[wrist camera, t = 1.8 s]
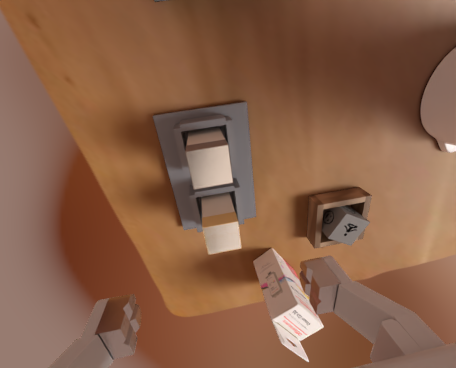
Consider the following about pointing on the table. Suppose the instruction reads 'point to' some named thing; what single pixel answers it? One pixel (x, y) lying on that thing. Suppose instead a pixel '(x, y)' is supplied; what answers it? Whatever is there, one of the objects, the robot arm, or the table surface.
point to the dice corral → (331, 200)
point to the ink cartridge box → (286, 301)
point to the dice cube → (343, 224)
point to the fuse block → (178, 166)
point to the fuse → (220, 223)
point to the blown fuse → (208, 158)
